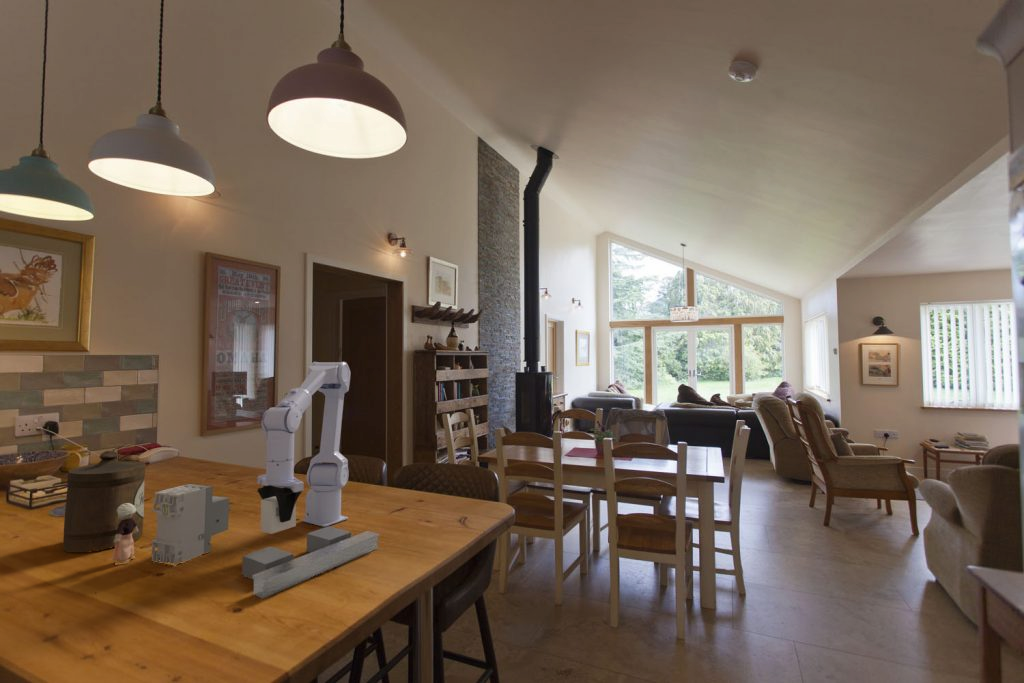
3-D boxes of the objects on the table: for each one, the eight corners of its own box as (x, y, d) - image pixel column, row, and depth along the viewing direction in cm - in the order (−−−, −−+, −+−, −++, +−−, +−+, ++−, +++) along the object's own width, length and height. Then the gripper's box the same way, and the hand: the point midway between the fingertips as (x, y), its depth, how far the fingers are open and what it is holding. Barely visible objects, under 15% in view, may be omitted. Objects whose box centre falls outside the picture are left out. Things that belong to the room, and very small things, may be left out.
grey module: (260, 531, 107) (260, 499, 107) (285, 523, 112) (285, 493, 113) (272, 534, 105) (272, 501, 105) (296, 526, 110) (296, 495, 110)
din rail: (251, 594, 89) (252, 575, 89) (366, 545, 113) (367, 530, 113) (264, 599, 87) (264, 580, 87) (378, 549, 111) (379, 533, 111)
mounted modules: (241, 575, 97) (241, 555, 97) (327, 542, 115) (327, 525, 115) (264, 585, 93) (265, 564, 93) (350, 549, 111) (351, 532, 111)
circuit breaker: (233, 542, 115) (235, 480, 116) (175, 566, 102) (177, 495, 102) (211, 539, 118) (213, 478, 118) (151, 561, 104) (153, 492, 105)
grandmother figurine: (119, 557, 107) (121, 500, 107) (140, 554, 108) (142, 498, 109) (105, 570, 99) (108, 509, 100) (128, 567, 101) (130, 507, 102)
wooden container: (155, 536, 120) (158, 448, 121) (82, 558, 106) (87, 458, 107) (122, 528, 126) (126, 444, 127) (49, 547, 112) (54, 453, 114)
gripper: (245, 459, 110) (243, 518, 109) (283, 466, 102) (282, 530, 101) (273, 454, 116) (272, 510, 115) (312, 460, 108) (310, 520, 108)
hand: (279, 519), depth 109 cm, fingers closed on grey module, 4 cm apart
